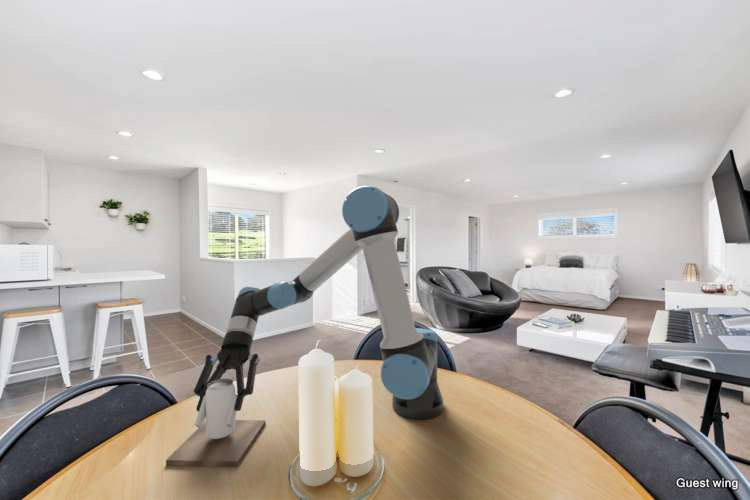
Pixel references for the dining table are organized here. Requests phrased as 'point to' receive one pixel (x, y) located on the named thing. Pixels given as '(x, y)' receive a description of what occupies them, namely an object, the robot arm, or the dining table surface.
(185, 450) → the walnut board
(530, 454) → the dining table surface
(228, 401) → the can
